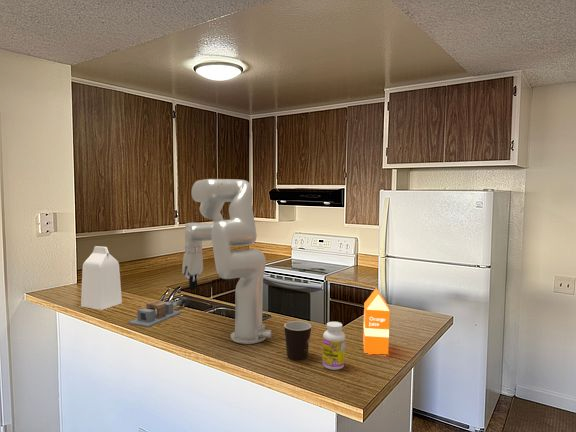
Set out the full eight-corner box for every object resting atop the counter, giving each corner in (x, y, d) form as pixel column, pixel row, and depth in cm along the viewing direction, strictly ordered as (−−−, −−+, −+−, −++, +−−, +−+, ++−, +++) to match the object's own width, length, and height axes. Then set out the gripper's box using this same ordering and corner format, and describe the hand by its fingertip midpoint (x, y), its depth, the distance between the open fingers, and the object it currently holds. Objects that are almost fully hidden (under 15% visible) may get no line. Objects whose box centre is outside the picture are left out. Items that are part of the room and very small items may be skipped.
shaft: (188, 304, 181) (188, 297, 181) (165, 313, 167) (165, 306, 167) (181, 302, 183) (181, 296, 183) (158, 312, 169) (157, 305, 169)
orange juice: (363, 354, 132) (365, 293, 131) (362, 343, 141) (364, 286, 140) (388, 355, 131) (390, 294, 130) (385, 345, 140) (387, 287, 139)
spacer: (165, 316, 165) (165, 303, 165) (159, 319, 162) (158, 305, 161) (153, 314, 168) (153, 301, 168) (146, 316, 164) (146, 303, 164)
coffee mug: (300, 364, 124) (301, 332, 123) (278, 357, 129) (278, 326, 128) (321, 352, 133) (321, 322, 132) (299, 346, 138) (300, 317, 137)
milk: (80, 306, 179) (79, 247, 177) (102, 300, 190) (101, 244, 188) (101, 310, 174) (100, 249, 173) (121, 303, 185) (121, 246, 183)
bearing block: (181, 312, 172) (181, 301, 172) (148, 327, 154) (148, 315, 154) (162, 309, 176) (162, 298, 176) (127, 323, 158) (127, 311, 157)
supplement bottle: (318, 366, 122) (319, 324, 121) (328, 359, 128) (329, 318, 127) (338, 372, 119) (339, 329, 118) (348, 364, 124) (349, 323, 123)
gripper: (196, 246, 195) (196, 284, 196) (176, 251, 181) (176, 292, 183) (209, 248, 192) (209, 286, 193) (190, 253, 178) (189, 294, 180)
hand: (193, 289), depth 188 cm, fingers closed
